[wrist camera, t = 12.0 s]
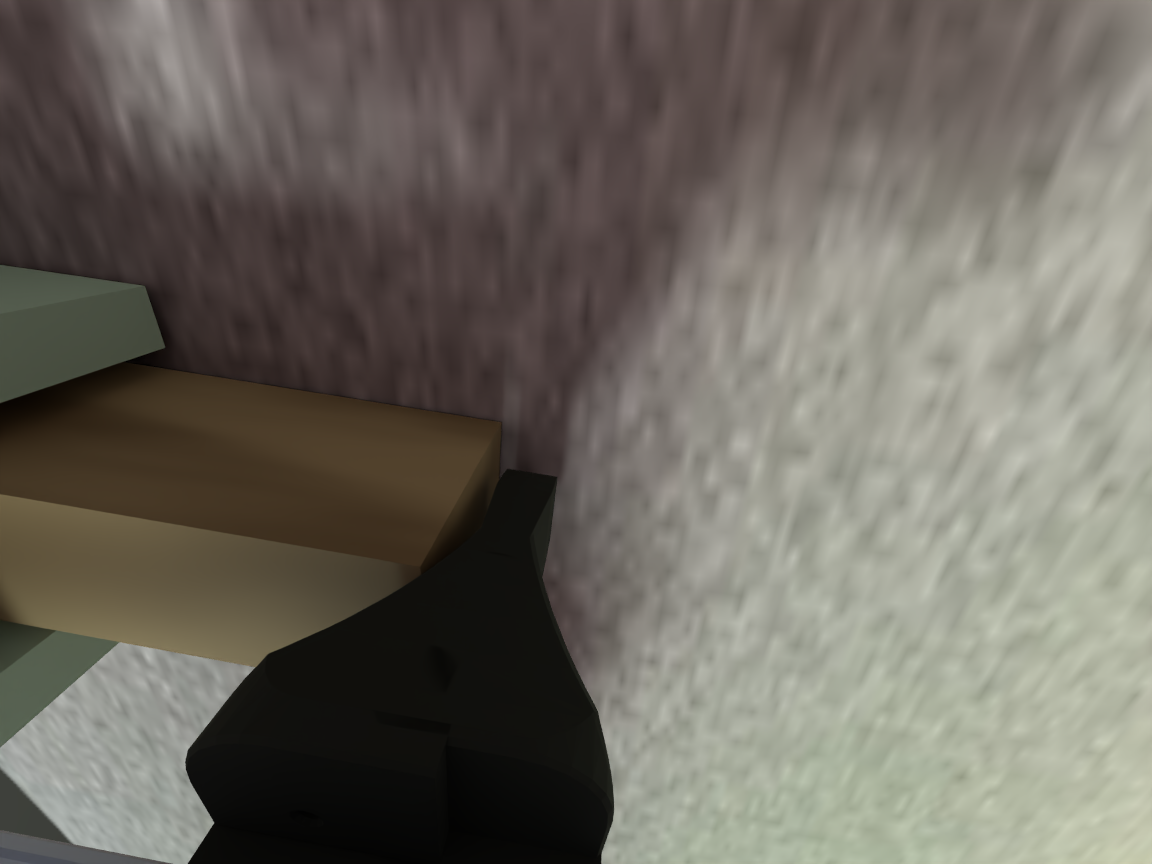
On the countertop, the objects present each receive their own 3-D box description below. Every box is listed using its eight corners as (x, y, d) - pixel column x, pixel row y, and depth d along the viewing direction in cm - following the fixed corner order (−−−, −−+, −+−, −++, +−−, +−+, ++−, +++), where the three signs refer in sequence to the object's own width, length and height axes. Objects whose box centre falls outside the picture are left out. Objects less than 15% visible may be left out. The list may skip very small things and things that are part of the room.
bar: (496, 528, 13) (428, 698, 9) (104, 462, 13) (-150, 592, 9) (501, 422, 11) (420, 566, 7) (53, 351, 12) (-290, 444, 7)
